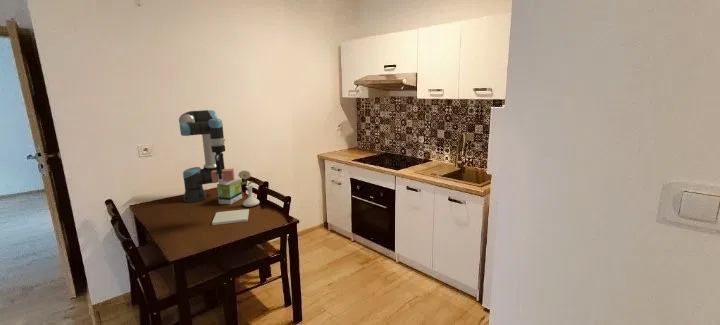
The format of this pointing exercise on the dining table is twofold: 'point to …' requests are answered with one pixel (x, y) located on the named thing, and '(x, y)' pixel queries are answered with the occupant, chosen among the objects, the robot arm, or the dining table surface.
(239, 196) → the tea box
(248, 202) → the flower in vase
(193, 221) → the dining table surface
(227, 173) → the brick block
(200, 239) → the dining table surface
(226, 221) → the grey board
